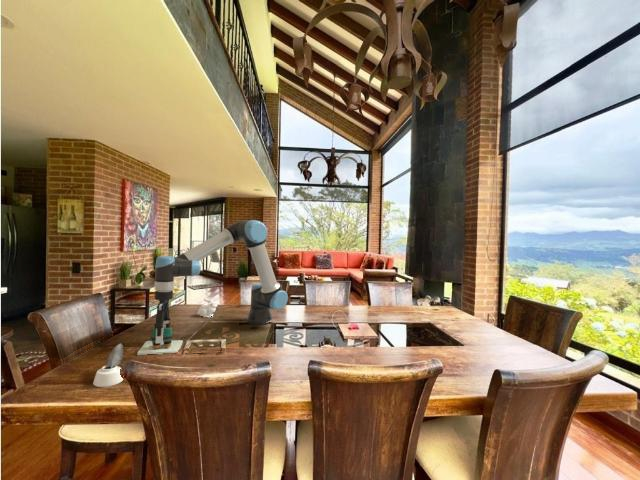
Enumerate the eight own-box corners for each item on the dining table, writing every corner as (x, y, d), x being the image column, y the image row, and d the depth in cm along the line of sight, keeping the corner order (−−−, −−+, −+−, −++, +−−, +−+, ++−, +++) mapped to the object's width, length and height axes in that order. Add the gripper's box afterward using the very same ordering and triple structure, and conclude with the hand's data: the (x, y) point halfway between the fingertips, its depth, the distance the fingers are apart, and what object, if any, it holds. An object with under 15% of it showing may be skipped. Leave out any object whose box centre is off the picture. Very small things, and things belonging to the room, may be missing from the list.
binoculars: (172, 320, 157) (173, 322, 149) (171, 343, 156) (173, 346, 147) (151, 322, 153) (151, 324, 145) (150, 346, 152) (150, 349, 143)
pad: (182, 342, 159) (182, 340, 159) (177, 353, 145) (177, 351, 145) (146, 343, 155) (146, 341, 155) (137, 355, 141) (137, 352, 141)
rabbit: (218, 315, 210) (219, 297, 210) (210, 319, 201) (211, 300, 201) (200, 314, 213) (201, 295, 212) (192, 317, 203) (193, 298, 203)
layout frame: (225, 340, 165) (225, 339, 165) (224, 352, 149) (225, 351, 149) (187, 341, 161) (187, 340, 161) (182, 354, 144) (182, 353, 144)
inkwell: (88, 388, 111) (89, 359, 111) (105, 366, 128) (106, 341, 128) (119, 386, 114) (121, 357, 113) (132, 365, 131) (133, 340, 131)
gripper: (160, 285, 160) (158, 331, 160) (148, 295, 137) (146, 348, 138) (177, 286, 162) (175, 330, 162) (167, 295, 139) (165, 347, 140)
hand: (161, 338), depth 150 cm, fingers open, 11 cm apart
